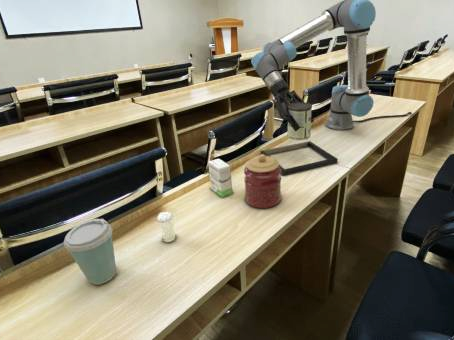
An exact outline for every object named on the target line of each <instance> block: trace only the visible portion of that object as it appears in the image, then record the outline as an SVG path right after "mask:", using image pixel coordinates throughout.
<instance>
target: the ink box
mask: <svg viewBox="0 0 454 340" xmlns="http://www.w3.org/2000/svg"><path fill="white" fill-rule="evenodd" d="M207 163H208V172H209V181H210V189H211V190H212V191H213V192H215V194H218V195H219V196H220V197H221V198H224V197H226V196H229V195H231V194H233V193H234V192H233V182H232V172H231V171H232V170H231V165H229V164H228V163H227V162H226V161H224V160H222V159H220V158H215V159H211V160H209V161H207Z"/></svg>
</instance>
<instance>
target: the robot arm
mask: <svg viewBox="0 0 454 340" xmlns="http://www.w3.org/2000/svg"><path fill="white" fill-rule="evenodd" d="M376 16H377V14H376V7H375V5H374V4H373V3H372V1H370V0H341V1H339V2H337V3H335V4H334V5H332V6H330V7H328V8H327V9H325V10H324V11H321V14H320V15H319V16H316V18H313V19H312V20H309V21H308V22H305V24H303V25H301V26H299V27H297V28H295V29H294V30H292V31H289V33H286V34H285V35H283V36H281V37H279V38H277V39H276V40H274V41H272V42H267V43H264V45H263V46H262V49H261V51H259V52H258V53H256V54H255V55H253V57H252V58H251V62H250V63H251V65H252V66H253V69H254V70H255V72H256V73H257V74H258V76H259V77H260V79H261V80H262V81H263V82H264V85H265V86H266V87H267V89H268V90H269V92H270V93H271V95H272V96H273V98H272V100H271V101H272V102H273V104H274V105H275V108H276V110H277V112H278V115H279V117H280V119H281V120H284V121H287V124H288V123H289V124H290V125H291V126H292V127H293V129H294V130H295V132H296V131H297V130H298V129H299V128H300V127H299V125H298V124H297V122H296V121H295V119H294V118H293V117H292V115H291V116H290V114H289V110H288V104H290V103H295V102H305V101H304V100H303V98H301V97H300V96H299V95H298V94H297V92H296V91H295V90H292V91H290V89H288V88H289V86H288V84H287V82H286V81H285V80H284V79H283V77H282V76H281V74H280V73H279V71H278V69H279V68H281V67H283V66H284V65H286V64H288V63H289V62H291V61H292V60H294V59H295V58H296V57H297V54H298V52H297V48H298V47H301V46H302V45H304V44H306V43H308V42H309V41H311V40H313V39H315V38H317V37H318V36H320V35H322V34H325V32H331V31H334V30H335V29H338V28H343V35H344V36H346V38H347V84H341V85H334V86H333V87H332V89H331V90H332V91H331V99H330V100H331V101H330V112H329V114H328V118H327V120H326V122H325V126H326V127H327V128H329V129H332V130H337V131H347V130H350V129H353V128H354V123H363V122H367V121H370V120H375V119H381V118H382V119H384V118H398V117H406V116H409V115H412V114H413V113H412V111H409V112H407V113H404V114H394V115H380V116H373V117H368V118H365V119H361V120H354V119H353V116H354V117H357V118H362V117H365V116H367V115H368V114H369V113H370V112H371V111H372V110H373V107H374V98H373V97H372V96H371V95H370V88H369V87H368V86H367V35H368V34H369V33H370V32H371V26H372V25H373V23H374V21H375V20H376ZM314 122H315V119H314V118H313V117H312V116H311V124H313V123H314Z"/></svg>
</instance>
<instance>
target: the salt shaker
mask: <svg viewBox="0 0 454 340" xmlns="http://www.w3.org/2000/svg"><path fill="white" fill-rule="evenodd" d="M153 217H154V218H156V221H157V223H158V226H159V229H160V232H161V234H162V237H163V241H164V242H165V243H172V242H174V241H175V239H176V233H175V223H174V222H175V221H174V214H173V213H172V212H170V211H161V212H160V213H158V215H157V217H155V215H153Z"/></svg>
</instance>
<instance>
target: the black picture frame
mask: <svg viewBox="0 0 454 340" xmlns="http://www.w3.org/2000/svg"><path fill="white" fill-rule="evenodd" d="M308 147H309V148H310V149H312V150H314V151H315V152H316V153H318V154H320V155H321V156H322V157H324V158H325V159H324V160H319V161H314V162H310V163H305V164H302V165H297V166H293V167H289V168H284V167H282V165H280V164H279V167H280V168H281V173H280V176H288V175H291V174H297V173H301V172H305V171H309V170H313V169H318V168H322V167H326V166H330V165H334V164H338V161H339V159H338V158H337V157H335V156H334V155H332V154H331V153H329V152H328V151H326V150H325V149H323V148H321V147H320V146H318V145H317V144H316V143H314V142H312V141H311V140H308V141H302V142H298V143H293V144H288V145H283V146H278V147H273V148H269V149H268V148H267V149H264V150H260V151H259V152H260V154H259V155H261V154H263V155H265V156H269V157H271V155H274V154H278V153H283V152H287V151H293V150H298V149H302V148H308Z"/></svg>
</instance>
